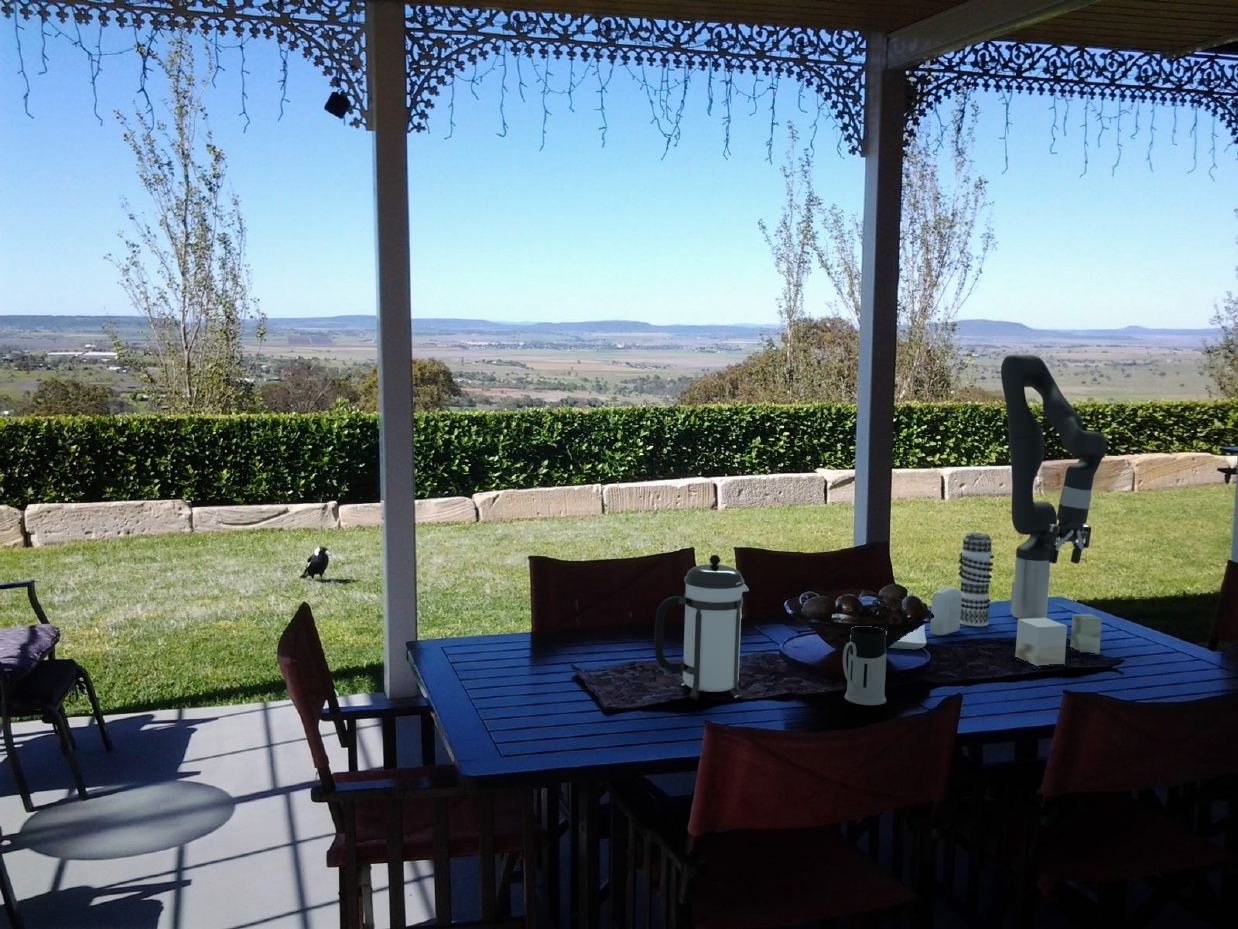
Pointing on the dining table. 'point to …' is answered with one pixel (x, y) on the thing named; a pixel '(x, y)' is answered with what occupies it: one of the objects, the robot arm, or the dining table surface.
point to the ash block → (1040, 654)
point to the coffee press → (707, 629)
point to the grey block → (1041, 632)
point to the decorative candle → (975, 579)
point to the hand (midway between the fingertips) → (1063, 562)
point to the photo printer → (946, 611)
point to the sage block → (1086, 633)
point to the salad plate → (912, 640)
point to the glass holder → (866, 665)
